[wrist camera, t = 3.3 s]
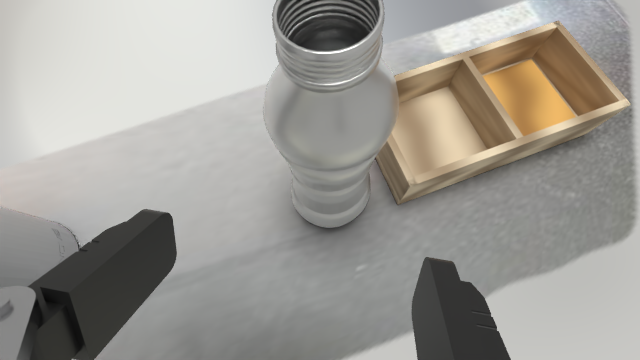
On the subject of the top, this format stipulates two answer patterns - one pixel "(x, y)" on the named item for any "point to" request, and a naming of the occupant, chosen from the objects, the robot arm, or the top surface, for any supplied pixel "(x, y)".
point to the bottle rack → (493, 109)
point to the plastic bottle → (330, 103)
